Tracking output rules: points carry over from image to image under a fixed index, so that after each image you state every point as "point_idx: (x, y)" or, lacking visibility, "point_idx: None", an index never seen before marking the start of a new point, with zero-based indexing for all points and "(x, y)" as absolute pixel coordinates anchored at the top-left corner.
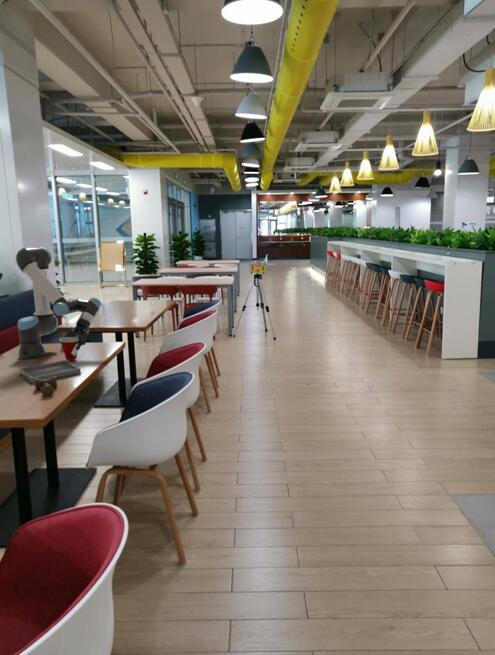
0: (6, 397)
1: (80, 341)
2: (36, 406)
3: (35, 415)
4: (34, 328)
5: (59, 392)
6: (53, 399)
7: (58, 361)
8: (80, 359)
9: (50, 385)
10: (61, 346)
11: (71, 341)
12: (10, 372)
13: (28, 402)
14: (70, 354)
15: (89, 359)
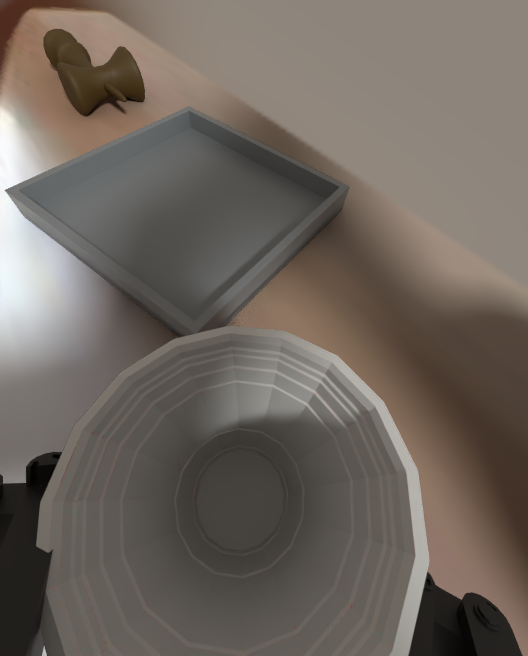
0: (192, 70)
1: (15, 525)
2: None
3: (50, 16)
4: None
5: (45, 83)
6: (43, 56)
7: (228, 300)
8: None
9: (58, 48)
10: None
11: (129, 367)
12: (413, 229)
13: (107, 50)
14: (209, 436)
15: None
